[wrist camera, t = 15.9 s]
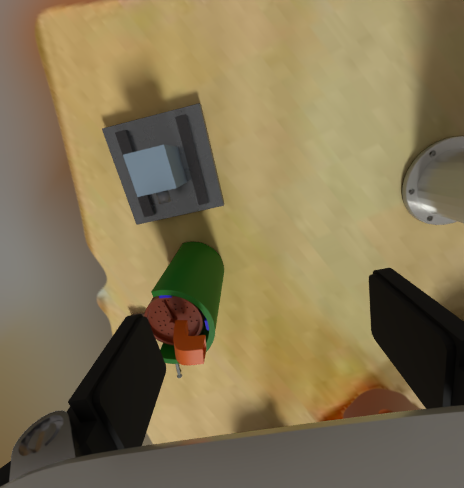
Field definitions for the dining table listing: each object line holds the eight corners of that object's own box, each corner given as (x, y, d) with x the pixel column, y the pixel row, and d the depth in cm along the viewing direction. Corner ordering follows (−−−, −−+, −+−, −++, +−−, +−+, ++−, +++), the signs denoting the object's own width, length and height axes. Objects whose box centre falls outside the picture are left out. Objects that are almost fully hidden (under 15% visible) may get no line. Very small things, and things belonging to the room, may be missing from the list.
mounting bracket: (201, 105, 35) (198, 101, 32) (224, 203, 39) (223, 206, 37) (107, 129, 36) (98, 128, 34) (140, 222, 40) (134, 226, 38)
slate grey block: (177, 146, 35) (163, 144, 29) (190, 192, 37) (180, 201, 31) (143, 154, 36) (122, 154, 29) (158, 200, 38) (141, 209, 31)
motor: (164, 246, 42) (105, 321, 23) (216, 236, 41) (199, 305, 22) (180, 298, 45) (140, 400, 26) (229, 289, 44) (223, 389, 26)
